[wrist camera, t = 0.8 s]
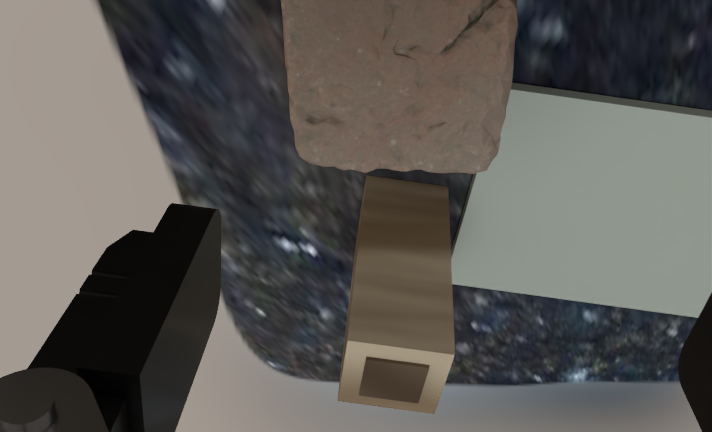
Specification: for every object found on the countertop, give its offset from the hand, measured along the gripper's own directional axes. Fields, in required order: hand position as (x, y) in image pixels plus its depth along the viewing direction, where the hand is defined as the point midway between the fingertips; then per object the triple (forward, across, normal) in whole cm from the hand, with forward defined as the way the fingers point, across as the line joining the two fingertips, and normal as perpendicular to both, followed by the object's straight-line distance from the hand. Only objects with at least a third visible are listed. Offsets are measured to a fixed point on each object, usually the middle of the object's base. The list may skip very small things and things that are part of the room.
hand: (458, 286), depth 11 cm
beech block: (+20, -1, +11) cm, 23 cm away
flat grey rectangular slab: (+19, -13, +9) cm, 25 cm away
